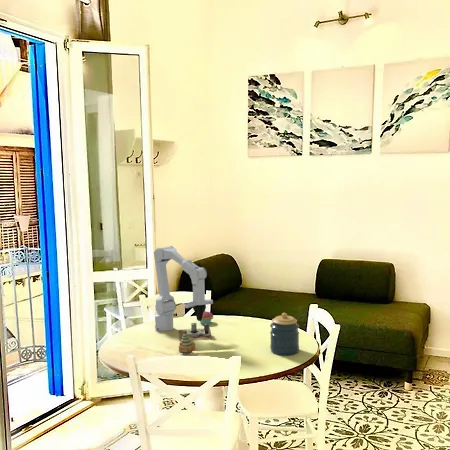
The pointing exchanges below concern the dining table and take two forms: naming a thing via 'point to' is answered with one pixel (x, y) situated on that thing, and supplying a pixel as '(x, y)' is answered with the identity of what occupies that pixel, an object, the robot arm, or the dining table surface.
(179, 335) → the board
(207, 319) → the cupcake
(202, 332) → the flange
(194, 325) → the post
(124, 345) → the dining table surface
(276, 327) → the canister
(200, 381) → the dining table surface
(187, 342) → the topped waffle
